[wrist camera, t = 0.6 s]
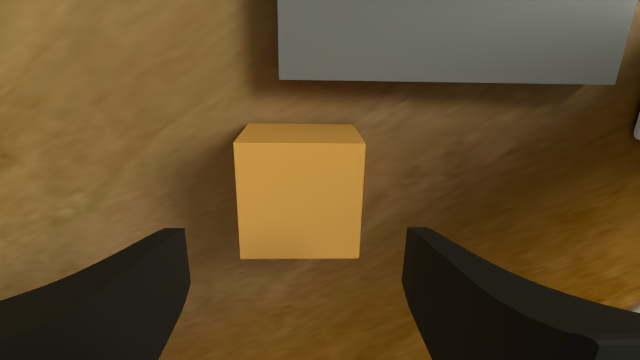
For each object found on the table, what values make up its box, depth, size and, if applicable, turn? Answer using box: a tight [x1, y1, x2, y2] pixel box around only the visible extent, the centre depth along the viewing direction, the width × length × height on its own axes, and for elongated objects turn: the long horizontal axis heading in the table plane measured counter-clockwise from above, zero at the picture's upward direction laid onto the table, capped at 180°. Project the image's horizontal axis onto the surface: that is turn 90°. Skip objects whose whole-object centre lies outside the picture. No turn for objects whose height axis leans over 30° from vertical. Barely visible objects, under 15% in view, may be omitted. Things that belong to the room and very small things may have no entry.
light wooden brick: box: [233, 123, 366, 259], centre depth 18 cm, size 5×5×4 cm
